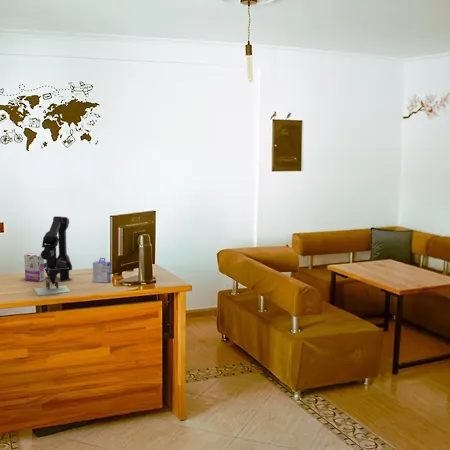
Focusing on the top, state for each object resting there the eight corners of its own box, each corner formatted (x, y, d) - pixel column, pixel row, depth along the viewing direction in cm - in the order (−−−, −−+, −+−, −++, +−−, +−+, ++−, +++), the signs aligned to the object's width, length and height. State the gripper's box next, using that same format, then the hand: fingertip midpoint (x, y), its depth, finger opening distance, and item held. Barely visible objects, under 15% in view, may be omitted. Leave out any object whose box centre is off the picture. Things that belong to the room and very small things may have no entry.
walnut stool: (45, 286, 343) (45, 276, 342) (56, 285, 346) (56, 275, 345) (47, 289, 337) (47, 279, 336) (59, 288, 340) (58, 278, 339)
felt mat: (34, 289, 344) (34, 288, 344) (65, 286, 352) (65, 285, 352) (38, 295, 332) (38, 294, 332) (70, 292, 340) (70, 291, 340)
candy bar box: (44, 280, 365) (44, 254, 363) (39, 282, 361) (38, 256, 358) (30, 278, 370) (29, 252, 367) (24, 280, 365) (23, 254, 362)
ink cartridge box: (111, 280, 367) (110, 258, 364) (107, 283, 361) (107, 259, 359) (96, 279, 369) (96, 257, 366) (92, 282, 363) (92, 259, 361)
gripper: (69, 258, 334) (69, 284, 337) (62, 251, 351) (62, 277, 353) (48, 259, 329) (49, 286, 332) (42, 253, 346) (43, 279, 348)
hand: (52, 282), depth 341 cm, fingers closed on walnut stool, 6 cm apart
